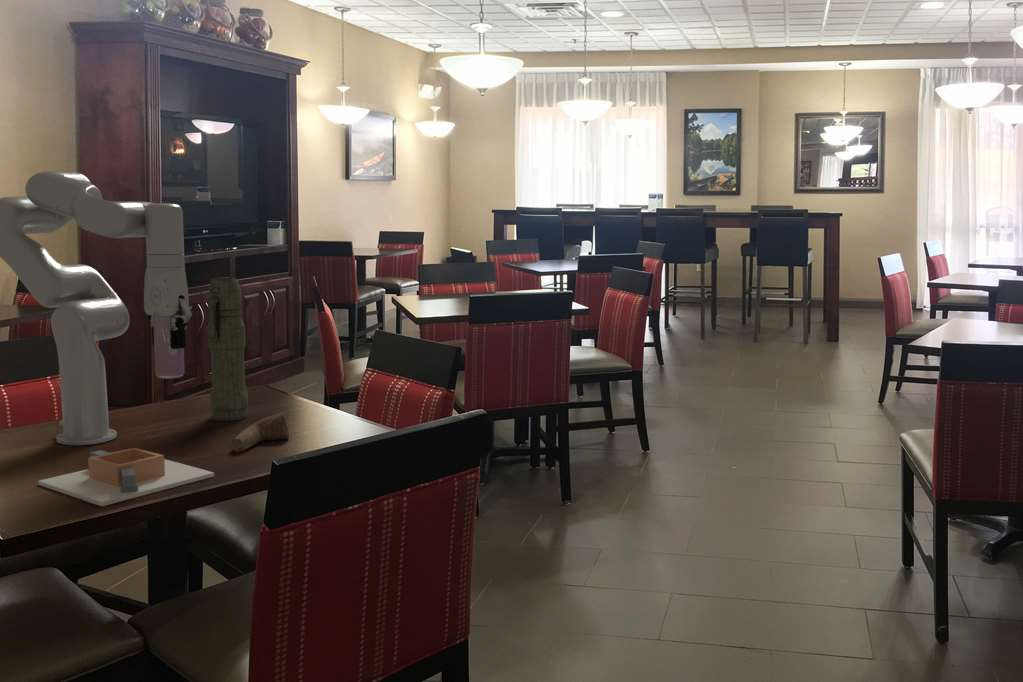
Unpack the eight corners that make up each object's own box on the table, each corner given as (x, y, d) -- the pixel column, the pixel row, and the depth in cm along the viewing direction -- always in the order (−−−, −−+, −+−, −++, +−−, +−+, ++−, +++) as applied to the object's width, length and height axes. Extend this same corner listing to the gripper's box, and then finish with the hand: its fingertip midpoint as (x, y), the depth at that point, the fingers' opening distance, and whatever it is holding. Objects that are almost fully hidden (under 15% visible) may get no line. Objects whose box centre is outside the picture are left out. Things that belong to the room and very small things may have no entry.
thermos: (201, 421, 245) (195, 279, 239) (225, 411, 256) (219, 275, 251) (234, 423, 243) (228, 279, 238) (257, 412, 254) (252, 275, 249)
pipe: (223, 431, 215) (267, 425, 214) (250, 414, 231) (291, 408, 230) (229, 460, 216) (273, 454, 215) (255, 441, 232) (296, 435, 231)
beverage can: (183, 373, 218) (181, 304, 216) (185, 378, 213) (183, 308, 210) (155, 374, 216) (152, 305, 214) (155, 379, 210) (153, 309, 208)
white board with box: (38, 484, 191) (36, 460, 191) (149, 458, 210) (148, 436, 210) (101, 506, 178) (100, 480, 178) (214, 476, 197) (213, 452, 197)
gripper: (126, 260, 213) (130, 344, 215) (174, 265, 202) (178, 353, 205) (157, 259, 219) (160, 340, 221) (206, 263, 208) (208, 348, 211)
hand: (169, 345), depth 213 cm, fingers closed on beverage can, 6 cm apart
